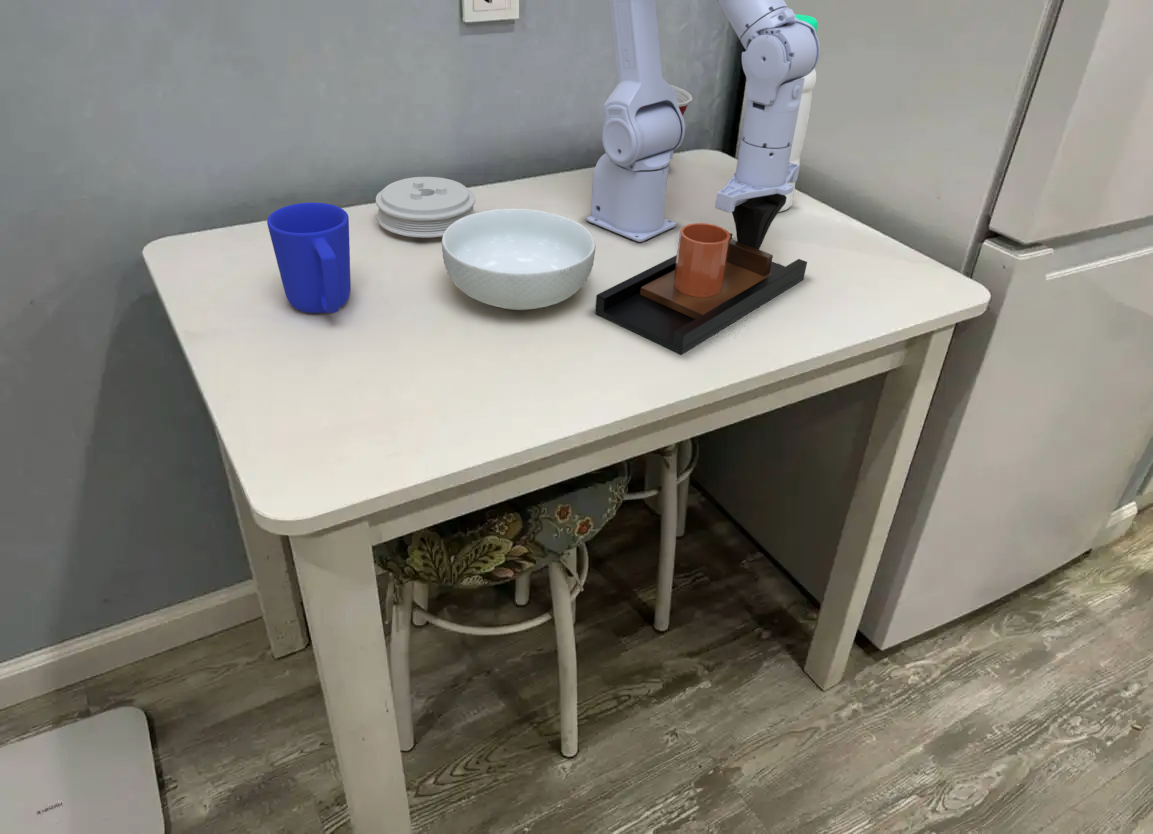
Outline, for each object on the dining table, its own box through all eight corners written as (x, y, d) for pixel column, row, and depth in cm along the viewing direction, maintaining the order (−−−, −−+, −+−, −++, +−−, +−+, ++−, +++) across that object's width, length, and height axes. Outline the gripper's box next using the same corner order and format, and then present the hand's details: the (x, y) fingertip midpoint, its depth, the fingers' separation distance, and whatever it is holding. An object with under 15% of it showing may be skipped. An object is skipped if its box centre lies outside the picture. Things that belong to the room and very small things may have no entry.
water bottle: (795, 215, 125) (833, 24, 110) (745, 212, 125) (776, 21, 110) (786, 195, 131) (821, 12, 116) (738, 193, 130) (767, 9, 116)
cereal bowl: (467, 341, 94) (465, 281, 89) (428, 272, 106) (425, 216, 102) (615, 318, 99) (620, 259, 95) (562, 254, 111) (564, 200, 107)
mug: (299, 344, 92) (285, 255, 86) (273, 292, 100) (259, 208, 94) (377, 328, 95) (369, 241, 89) (346, 279, 103) (336, 197, 98)
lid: (493, 232, 116) (492, 195, 113) (403, 252, 110) (400, 214, 107) (448, 198, 124) (446, 163, 121) (362, 215, 118) (358, 179, 115)
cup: (664, 285, 102) (670, 232, 98) (692, 270, 105) (699, 218, 101) (703, 302, 99) (711, 248, 95) (731, 286, 102) (740, 233, 99)
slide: (639, 294, 102) (642, 267, 100) (710, 258, 111) (714, 232, 109) (702, 322, 97) (706, 295, 95) (771, 282, 106) (776, 256, 104)
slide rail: (594, 313, 100) (596, 294, 98) (722, 248, 115) (724, 230, 114) (681, 355, 93) (683, 335, 92) (803, 279, 109) (807, 261, 107)
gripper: (762, 165, 93) (742, 282, 101) (830, 135, 102) (807, 244, 110) (706, 147, 97) (691, 261, 105) (777, 120, 106) (758, 227, 114)
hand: (747, 251), depth 108 cm, fingers closed
